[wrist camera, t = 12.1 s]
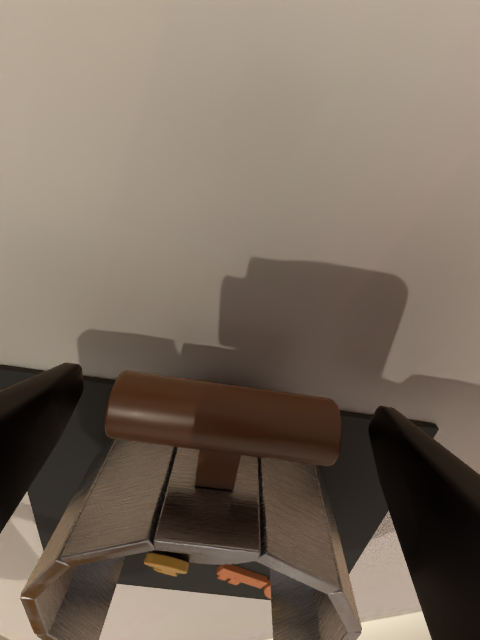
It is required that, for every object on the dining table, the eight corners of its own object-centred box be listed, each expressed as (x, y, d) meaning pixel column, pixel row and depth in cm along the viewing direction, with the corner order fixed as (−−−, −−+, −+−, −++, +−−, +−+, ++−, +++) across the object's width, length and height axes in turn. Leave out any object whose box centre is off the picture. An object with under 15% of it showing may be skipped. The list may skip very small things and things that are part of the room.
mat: (52, 571, 21) (37, 602, 20) (-2, 364, 13) (-34, 390, 12) (328, 601, 22) (333, 633, 20) (435, 423, 14) (458, 454, 12)
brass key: (144, 550, 16) (140, 561, 15) (188, 560, 15) (186, 571, 15) (154, 563, 20) (152, 571, 20) (189, 571, 20) (188, 580, 19)
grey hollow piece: (102, 540, 17) (49, 674, 12) (78, 313, 10) (-51, 422, 6) (293, 562, 17) (309, 699, 13) (384, 358, 11) (478, 490, 6)
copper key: (305, 582, 20) (306, 590, 20) (285, 596, 21) (286, 604, 21) (229, 555, 19) (228, 564, 19) (211, 572, 20) (210, 579, 20)
